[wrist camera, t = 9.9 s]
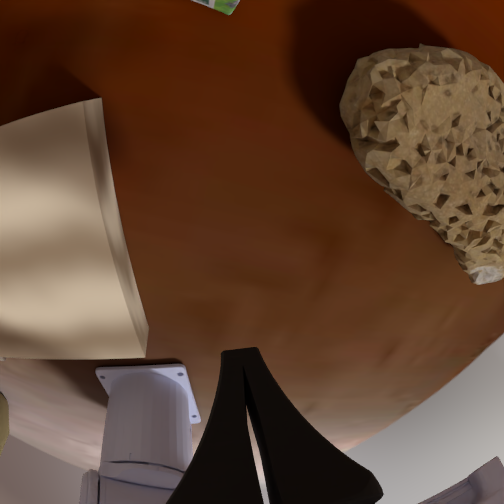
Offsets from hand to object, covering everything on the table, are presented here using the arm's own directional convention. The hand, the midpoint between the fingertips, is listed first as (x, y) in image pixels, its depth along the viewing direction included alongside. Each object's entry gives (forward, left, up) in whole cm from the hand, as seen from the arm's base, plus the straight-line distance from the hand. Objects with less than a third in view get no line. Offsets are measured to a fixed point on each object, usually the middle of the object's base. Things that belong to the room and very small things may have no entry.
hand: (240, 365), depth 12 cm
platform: (+2, +13, -9) cm, 16 cm away
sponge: (+5, -16, -10) cm, 20 cm away
